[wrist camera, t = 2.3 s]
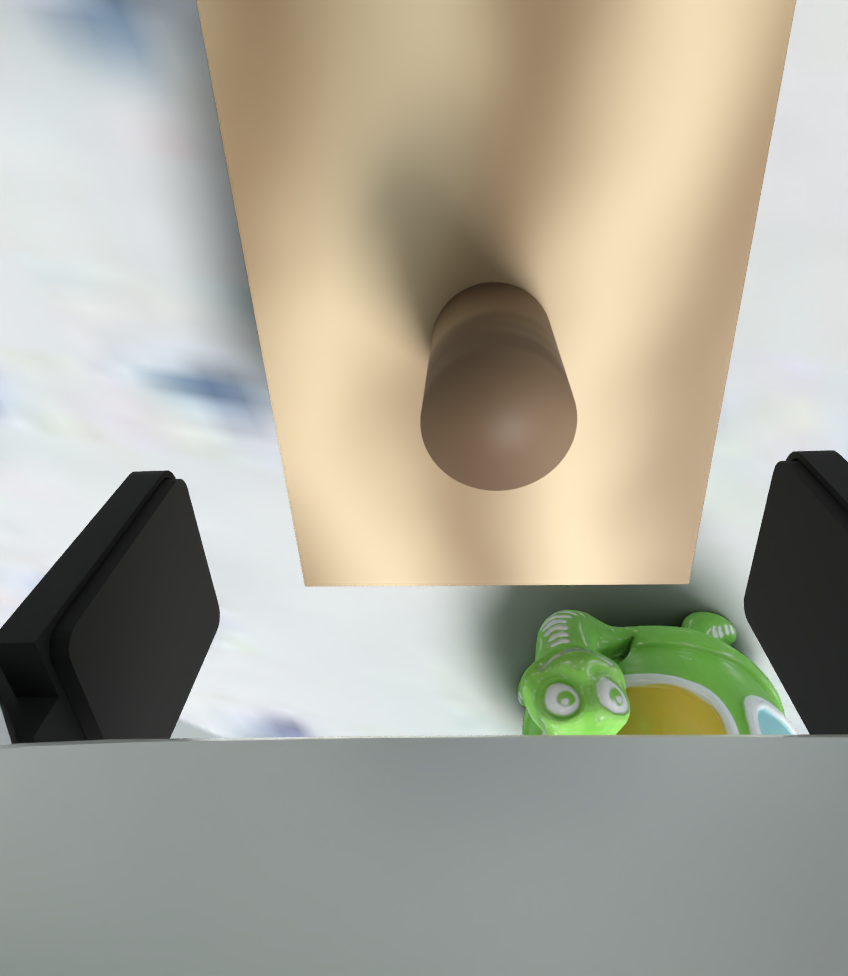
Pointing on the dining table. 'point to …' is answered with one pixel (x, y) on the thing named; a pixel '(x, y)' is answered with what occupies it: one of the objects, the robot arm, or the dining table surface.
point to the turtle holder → (645, 681)
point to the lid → (496, 271)
